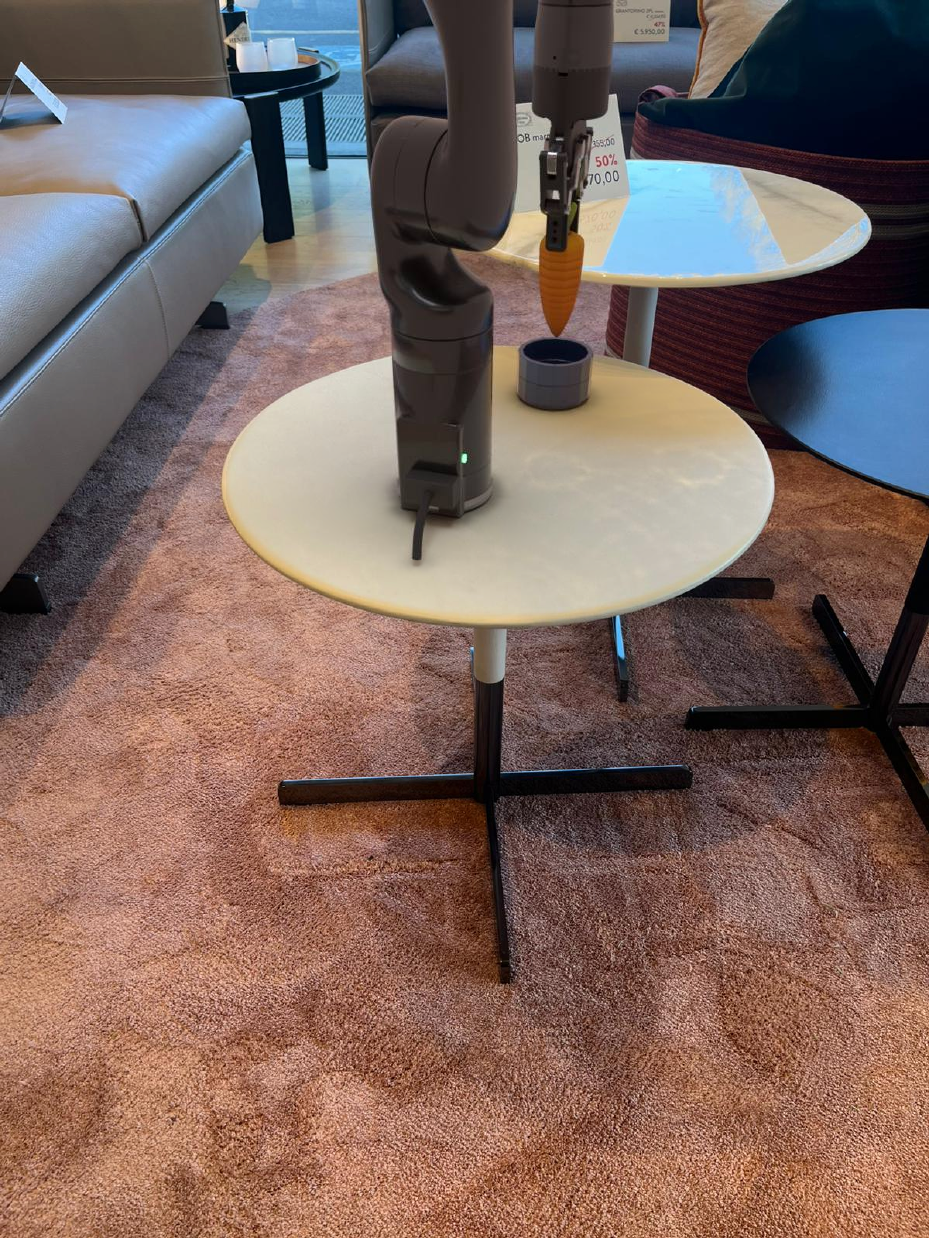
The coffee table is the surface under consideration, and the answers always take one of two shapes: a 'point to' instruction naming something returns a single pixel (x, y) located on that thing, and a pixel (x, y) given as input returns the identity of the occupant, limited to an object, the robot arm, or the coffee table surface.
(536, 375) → the cylindrical container
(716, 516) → the coffee table surface
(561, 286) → the carrot
